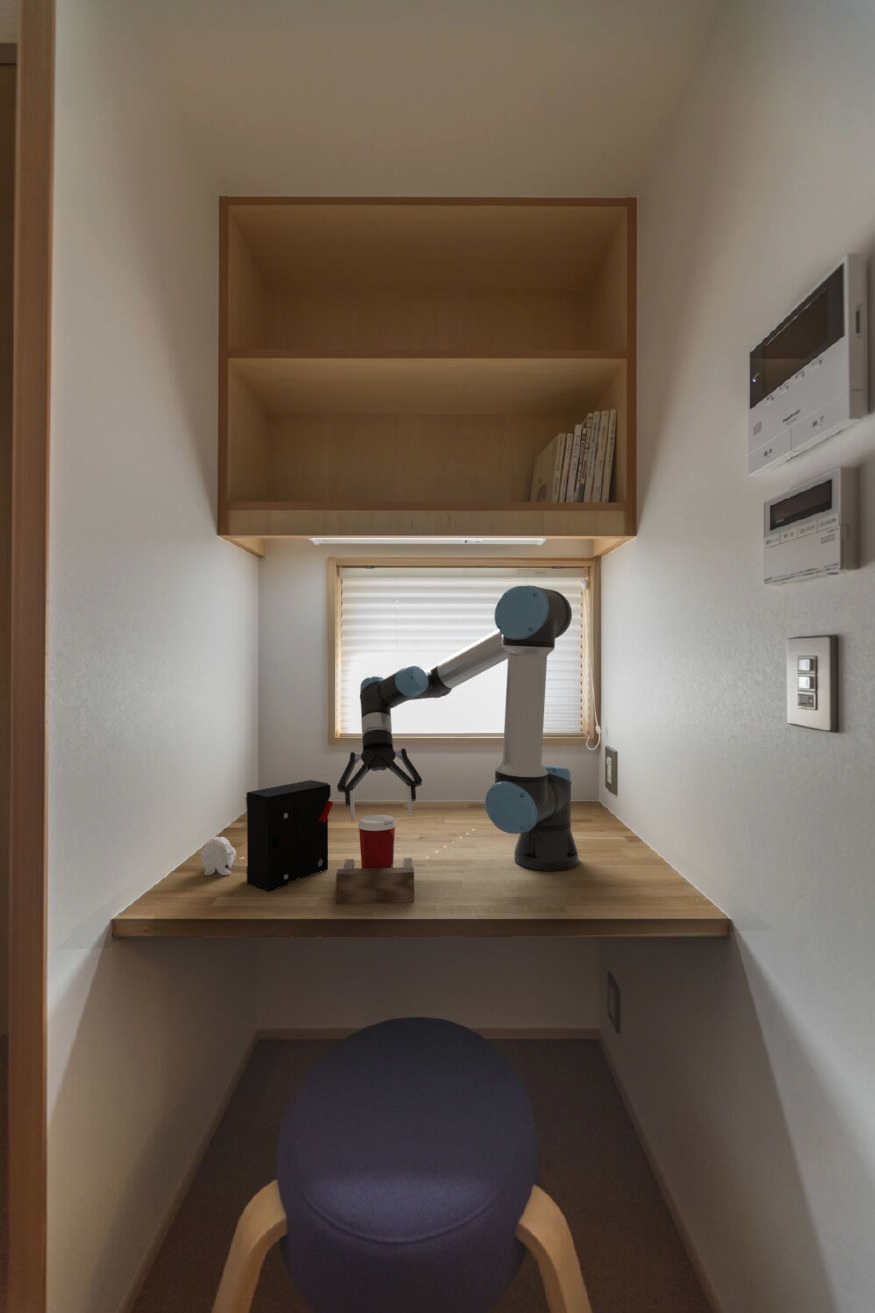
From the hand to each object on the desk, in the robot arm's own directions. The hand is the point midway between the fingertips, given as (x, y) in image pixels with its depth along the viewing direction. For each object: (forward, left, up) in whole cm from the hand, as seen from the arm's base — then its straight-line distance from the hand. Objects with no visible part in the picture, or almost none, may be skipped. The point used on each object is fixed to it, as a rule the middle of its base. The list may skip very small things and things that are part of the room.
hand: (381, 816), depth 154 cm
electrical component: (+21, +5, -12) cm, 25 cm away
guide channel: (+1, +10, -12) cm, 15 cm away
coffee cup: (+1, +15, -12) cm, 19 cm away
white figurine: (+37, 0, -12) cm, 39 cm away
